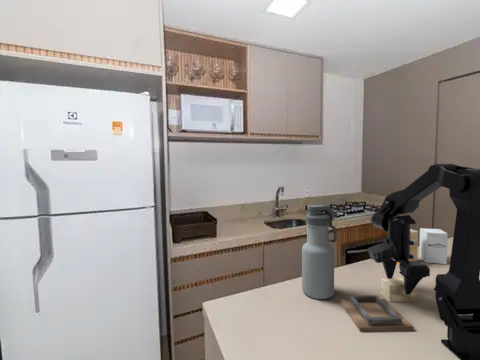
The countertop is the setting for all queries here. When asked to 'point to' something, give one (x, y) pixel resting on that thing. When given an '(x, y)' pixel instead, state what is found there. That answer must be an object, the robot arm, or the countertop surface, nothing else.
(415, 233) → the supplement box
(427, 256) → the supplement box
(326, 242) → the water bottle
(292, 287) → the countertop surface
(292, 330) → the countertop surface
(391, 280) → the maple block
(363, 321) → the nest board
